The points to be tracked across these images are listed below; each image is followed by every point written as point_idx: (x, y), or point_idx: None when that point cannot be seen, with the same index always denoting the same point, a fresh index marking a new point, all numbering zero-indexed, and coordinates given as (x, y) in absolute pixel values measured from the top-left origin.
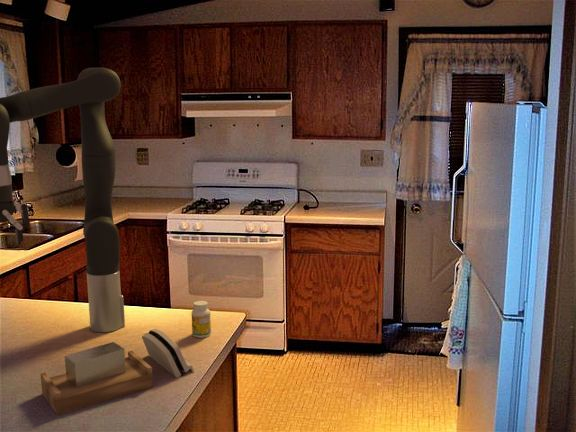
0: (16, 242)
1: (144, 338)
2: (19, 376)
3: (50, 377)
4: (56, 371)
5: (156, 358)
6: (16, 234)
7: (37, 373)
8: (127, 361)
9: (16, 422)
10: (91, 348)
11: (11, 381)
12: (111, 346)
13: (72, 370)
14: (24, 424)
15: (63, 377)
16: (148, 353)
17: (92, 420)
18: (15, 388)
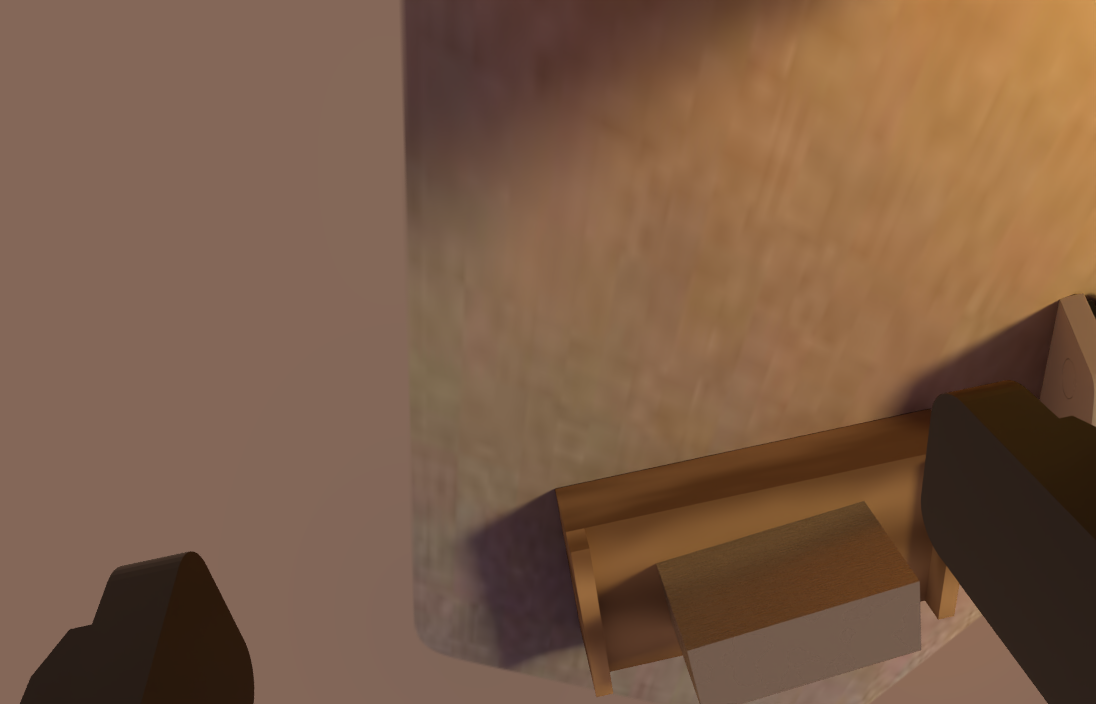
0: (945, 412)
1: (1087, 416)
2: (478, 299)
3: (604, 525)
4: (647, 311)
5: (1048, 401)
6: (1073, 637)
7: (562, 299)
8: (921, 486)
9: (451, 633)
10: (810, 615)
11: (440, 338)
12: (889, 620)
13: (686, 661)
14: (475, 649)
15: (651, 540)
16: (1062, 312)
17: (668, 675)
18: (455, 410)
